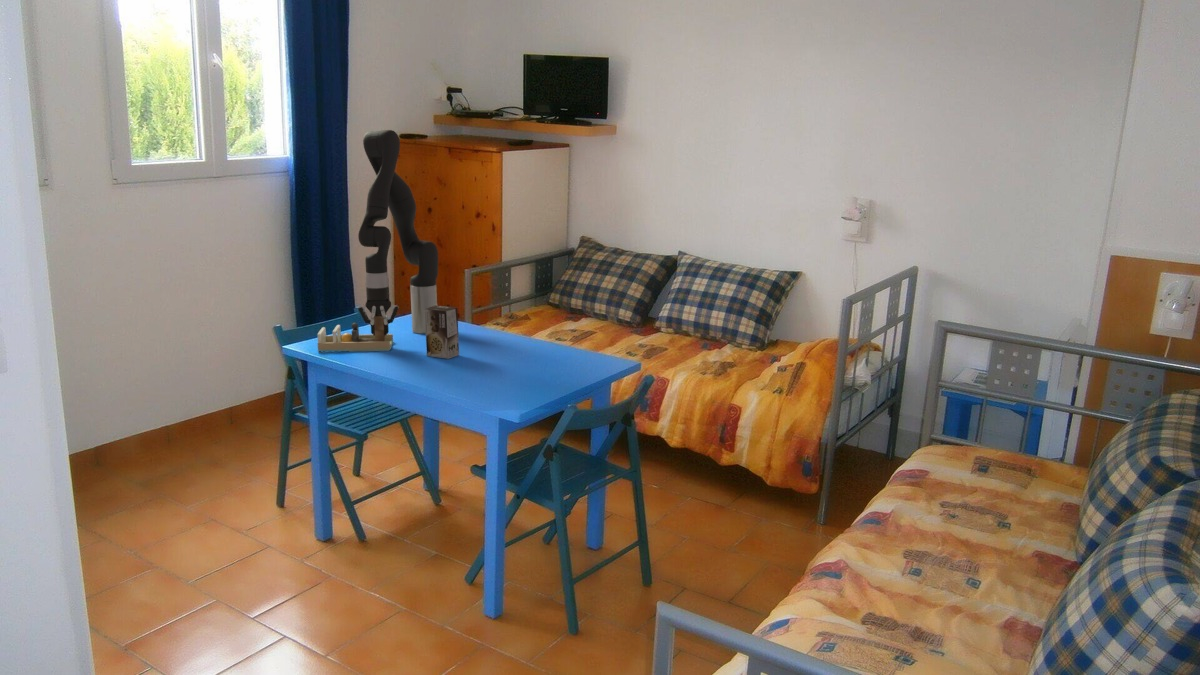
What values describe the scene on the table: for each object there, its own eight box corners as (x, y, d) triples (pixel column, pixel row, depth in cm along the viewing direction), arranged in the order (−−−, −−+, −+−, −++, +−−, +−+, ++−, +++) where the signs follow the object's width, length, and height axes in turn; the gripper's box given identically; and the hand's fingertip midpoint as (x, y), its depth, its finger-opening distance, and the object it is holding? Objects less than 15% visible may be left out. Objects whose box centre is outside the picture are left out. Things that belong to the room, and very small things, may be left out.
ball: (354, 342, 321) (353, 331, 320) (353, 345, 317) (351, 334, 316) (342, 343, 320) (341, 332, 319) (340, 346, 317) (339, 334, 316)
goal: (341, 341, 323) (340, 324, 322) (336, 348, 314) (335, 331, 312) (323, 341, 323) (322, 325, 321) (318, 348, 313) (317, 331, 312)
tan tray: (393, 342, 326) (392, 333, 325) (389, 350, 315) (389, 341, 314) (323, 343, 323) (323, 335, 323) (318, 352, 312) (317, 343, 312)
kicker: (385, 340, 323) (384, 313, 321) (384, 344, 317) (382, 316, 315) (353, 340, 322) (352, 313, 319) (351, 345, 316) (349, 317, 314)
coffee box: (459, 355, 310) (458, 307, 306) (448, 359, 304) (446, 310, 301) (437, 351, 314) (435, 304, 310) (425, 356, 308) (423, 308, 305)
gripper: (399, 282, 320) (401, 332, 324) (357, 283, 318) (360, 333, 322) (397, 286, 312) (400, 337, 316) (354, 287, 311) (357, 338, 315)
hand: (380, 334), depth 319 cm, fingers closed on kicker, 3 cm apart
